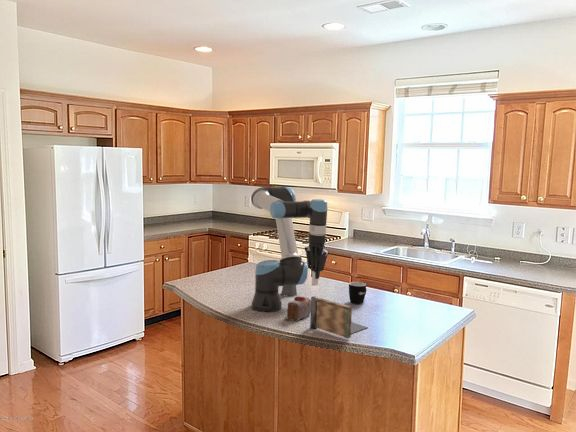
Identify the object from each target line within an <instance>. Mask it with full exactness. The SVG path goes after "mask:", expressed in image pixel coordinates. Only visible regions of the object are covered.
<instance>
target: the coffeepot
mask: <svg viewBox="0 0 576 432" xmlns="http://www.w3.org/2000/svg"><path fill="white" fill-rule="evenodd" d="M281 288H282V289H281V295H282V296H284V295H285V297H294V296H295V295H296V296H298V292H297V285H290V286H281ZM296 296H295V297H296Z"/></svg>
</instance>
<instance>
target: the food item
mask: <svg viewBox="0 0 576 432" xmlns="http://www.w3.org/2000/svg"><path fill="white" fill-rule="evenodd" d="M286 313H287V314H286V315H287V316H286V319H287V320H289V319H290V321H294V320H295V322H298V321H300V320H301V319H306V318H307V316H309V315H311V298H310V297H309V298H308V297H306V296H295V297H294V300H292V301H289V302H288V303H287V311H286Z"/></svg>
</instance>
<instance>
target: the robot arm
mask: <svg viewBox="0 0 576 432" xmlns="http://www.w3.org/2000/svg"><path fill="white" fill-rule="evenodd" d="M250 200H251V202H250V203H251V205H253V206H254V207H255V208H257V209H259V210H263V209H264V211H265V210H266V211H267V212H269V213H270V217H272V218H273V219H275V222H276V229H277V235H278V236H277V237H278V241H279V242H278V243H279V249H280V254H281V255H280V256H281V258H280V259H279V260H277V259H266V260H263V261H262V260H261V261H260V262H258V263H257V264H256V265H255V272H254V274H255V283H254V285H255V287H254V295H253V299H252V301H251V306H250V307H251V309H252V308H253V309H252V310H254V309H255V310H254V311H257V310H259V311H258V312H262V311H268V312H267V313H269V311H272V312H277V311H279V310H281V309H282V305H283V304H282V300H281V297H280V293H279V287H283V286H290V285H296V286H299V285H304V284H305V282H306V281H307V279H308V278H307V277H308V275H309V273H308V271H309V269H310V273H311V274H310V277H311V286H314V287H315V286H318V285H319V279H320V274H321V273H320V272H323V271H324V269H325V265H326V262H327V257H328V256H329V254H330V251H329V250H326V247H325V243H326V240H327V239H326V238H327V236H326V234H327V218H328V201H327V200H326V199H321V198H320V199H319V198H314V199H311V200H302V201H296V200H297V197H296V194H295V192H294V190H293V188H291V187H290V186H289V187H288V186H261V187H258V188H257V189H255V190H254V191H253V192H252V193H251V197H250ZM297 218H298V219H299V218H300V219H303V218H305V219H306V218H308V219H309V227H308V228H309V229H308V231H309V232H308V233H309V235H308V242H309V244H308V246H305V247H304V251H305V255H306V256H305V257H306V261H304V260H303V259H302V256H300V255H299V253H298V252H299V251H298V246H297V240H296V235H295V234H296V233H295V229H294V224H293V219H297Z"/></svg>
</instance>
